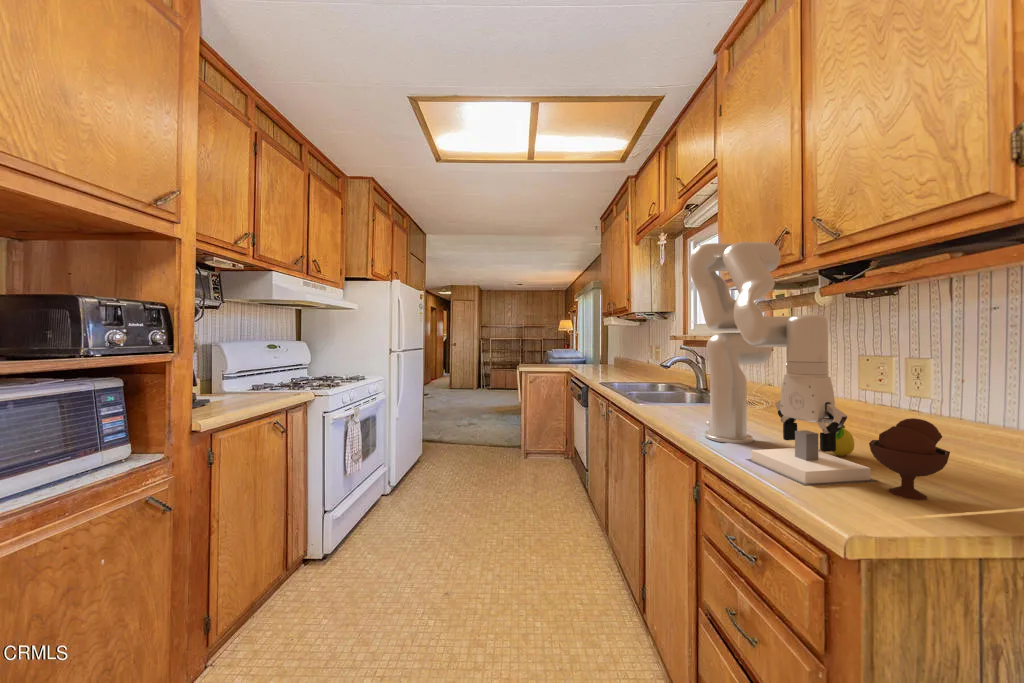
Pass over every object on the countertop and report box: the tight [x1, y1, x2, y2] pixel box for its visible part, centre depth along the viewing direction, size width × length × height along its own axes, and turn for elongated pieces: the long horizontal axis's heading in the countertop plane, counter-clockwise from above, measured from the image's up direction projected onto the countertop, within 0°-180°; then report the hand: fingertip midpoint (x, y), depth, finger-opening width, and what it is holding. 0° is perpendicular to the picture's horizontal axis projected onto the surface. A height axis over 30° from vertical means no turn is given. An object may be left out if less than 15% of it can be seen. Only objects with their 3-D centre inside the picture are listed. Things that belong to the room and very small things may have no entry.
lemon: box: [831, 425, 855, 457], centre depth 98 cm, size 7×6×10 cm
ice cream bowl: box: [868, 417, 951, 501], centre depth 74 cm, size 11×11×15 cm
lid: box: [750, 429, 871, 484], centre depth 88 cm, size 15×15×8 cm
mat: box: [744, 458, 879, 487], centre depth 88 cm, size 17×17×1 cm
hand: (808, 445), depth 88 cm, fingers open, 9 cm apart
